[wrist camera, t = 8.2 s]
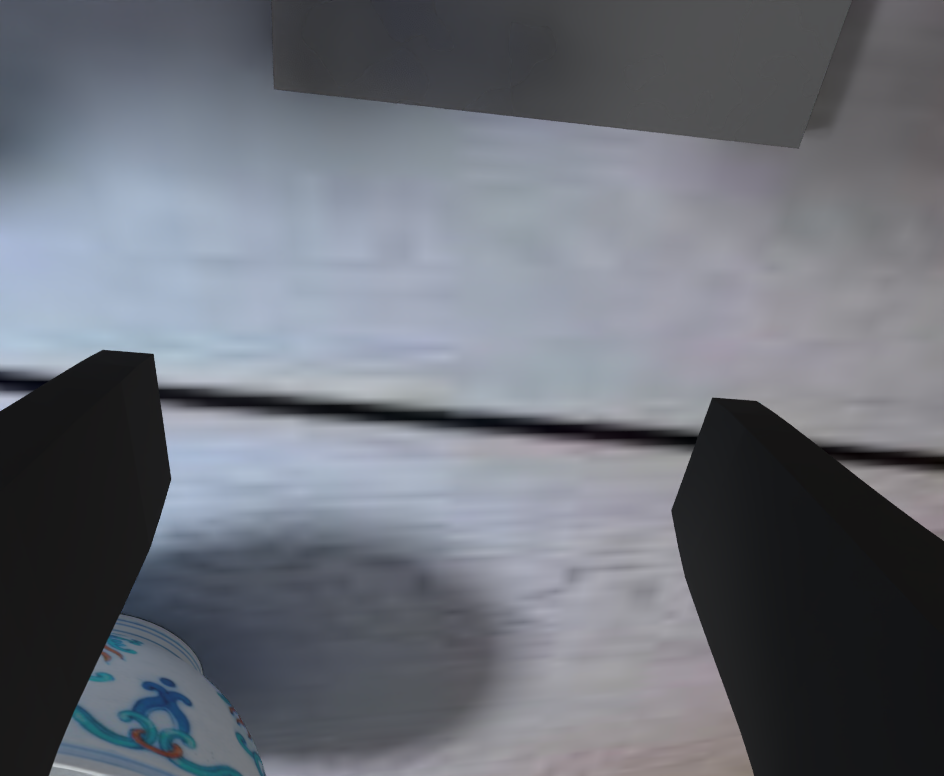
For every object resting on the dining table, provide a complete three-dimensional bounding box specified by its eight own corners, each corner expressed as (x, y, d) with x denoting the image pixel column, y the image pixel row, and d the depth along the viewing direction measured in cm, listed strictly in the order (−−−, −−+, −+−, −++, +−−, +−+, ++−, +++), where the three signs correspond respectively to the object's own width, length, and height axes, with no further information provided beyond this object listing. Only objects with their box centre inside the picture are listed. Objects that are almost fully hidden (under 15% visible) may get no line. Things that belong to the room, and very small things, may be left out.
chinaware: (255, 796, 35) (214, 1004, 28) (-105, 732, 31) (-248, 956, 24) (363, 593, 27) (340, 813, 21) (-97, 474, 23) (-300, 700, 17)
